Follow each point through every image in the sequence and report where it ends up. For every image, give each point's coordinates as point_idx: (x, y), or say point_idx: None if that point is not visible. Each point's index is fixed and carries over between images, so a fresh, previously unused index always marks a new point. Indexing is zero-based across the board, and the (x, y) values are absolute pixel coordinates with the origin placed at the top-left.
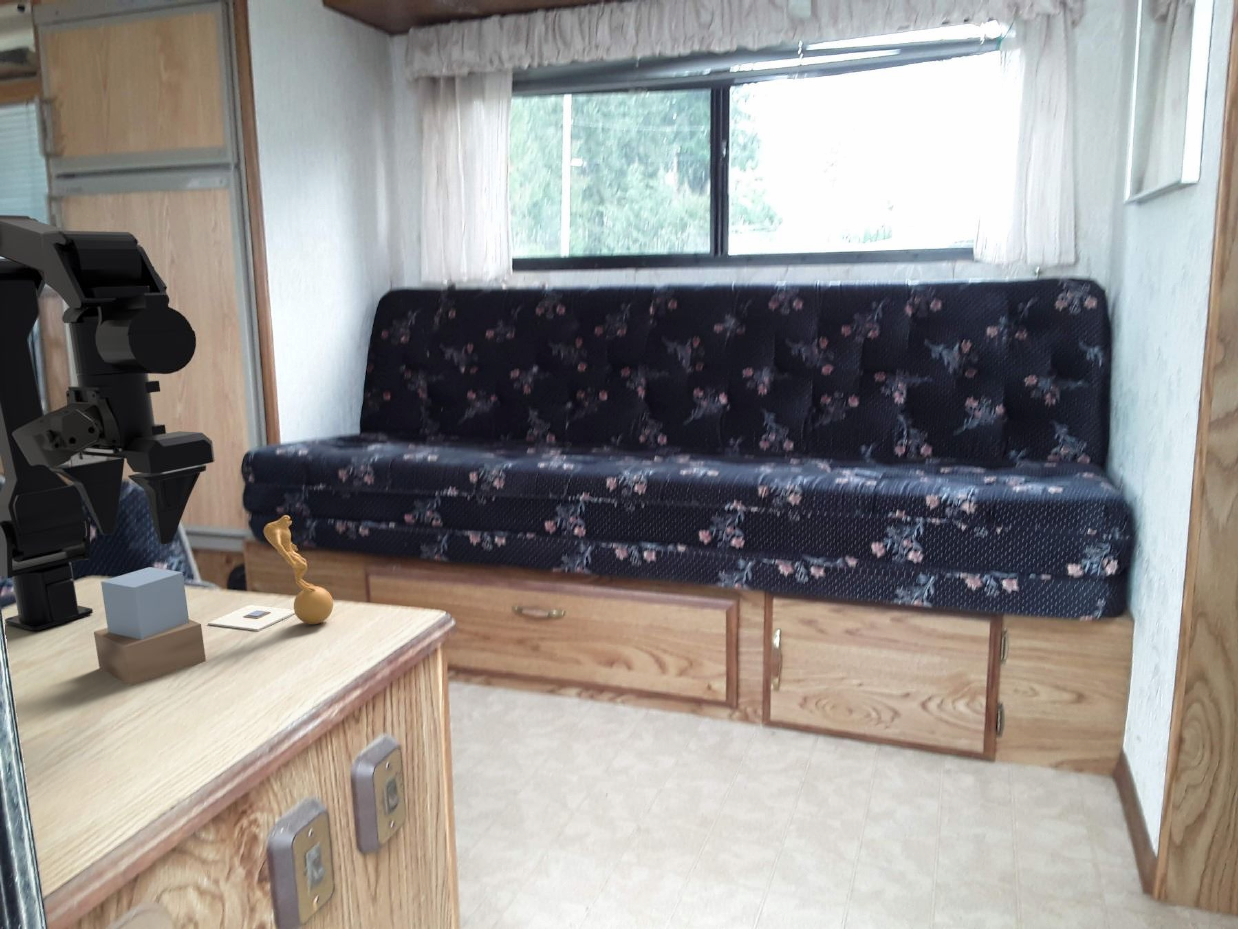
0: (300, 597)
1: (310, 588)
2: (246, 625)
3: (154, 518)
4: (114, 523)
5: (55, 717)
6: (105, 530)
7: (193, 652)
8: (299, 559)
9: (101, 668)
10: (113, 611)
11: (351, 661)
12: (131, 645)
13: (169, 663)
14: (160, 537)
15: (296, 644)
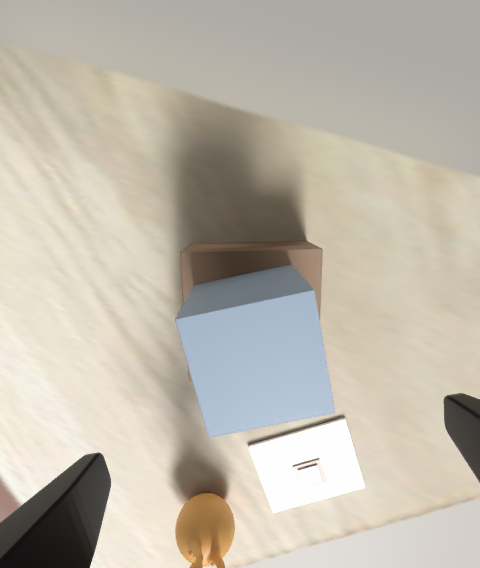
0: (199, 529)
1: (191, 554)
2: (279, 445)
3: (6, 537)
4: (469, 459)
5: (156, 121)
6: (456, 411)
7: None
8: None
9: (298, 241)
10: (268, 279)
11: (28, 459)
12: (182, 263)
13: None
14: (65, 470)
15: (149, 449)
